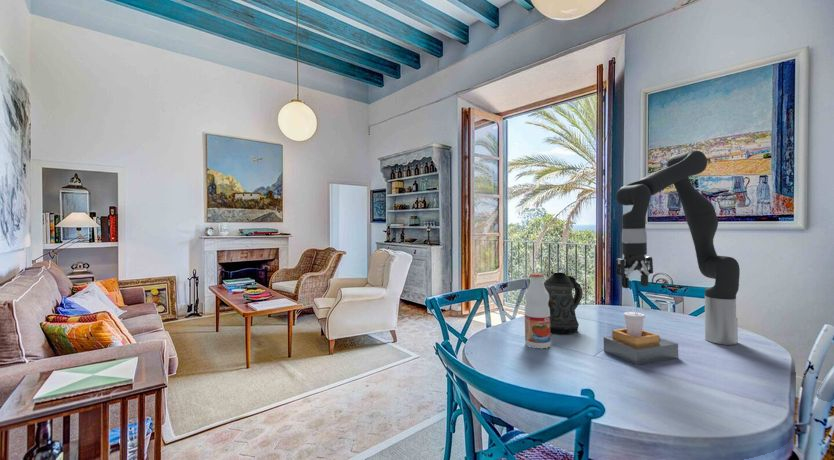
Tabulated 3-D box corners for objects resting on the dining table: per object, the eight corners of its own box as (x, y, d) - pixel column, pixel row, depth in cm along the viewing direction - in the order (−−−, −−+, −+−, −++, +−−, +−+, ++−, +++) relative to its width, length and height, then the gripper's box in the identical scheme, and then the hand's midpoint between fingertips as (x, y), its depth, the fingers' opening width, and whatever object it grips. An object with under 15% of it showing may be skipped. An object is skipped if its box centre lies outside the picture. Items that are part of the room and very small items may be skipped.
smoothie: (648, 344, 120) (647, 304, 120) (628, 343, 122) (627, 303, 121) (640, 338, 127) (639, 300, 126) (621, 337, 128) (620, 299, 128)
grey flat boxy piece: (648, 343, 135) (647, 323, 135) (684, 356, 121) (684, 334, 121) (603, 350, 129) (603, 329, 129) (637, 365, 116) (636, 340, 116)
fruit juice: (538, 339, 142) (537, 271, 142) (556, 347, 134) (554, 274, 133) (520, 343, 139) (518, 273, 138) (536, 351, 130) (535, 276, 130)
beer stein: (531, 329, 156) (530, 273, 156) (552, 320, 169) (551, 269, 169) (568, 337, 144) (567, 277, 144) (587, 327, 157) (586, 272, 157)
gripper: (640, 240, 130) (641, 283, 130) (609, 241, 126) (610, 286, 126) (659, 240, 123) (660, 287, 123) (627, 242, 119) (628, 290, 119)
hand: (635, 286), depth 125 cm, fingers open, 8 cm apart
